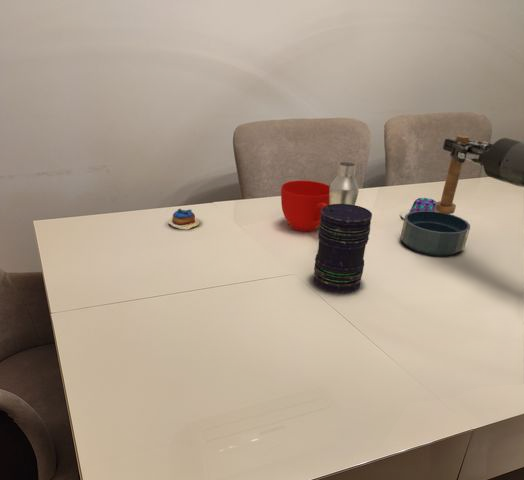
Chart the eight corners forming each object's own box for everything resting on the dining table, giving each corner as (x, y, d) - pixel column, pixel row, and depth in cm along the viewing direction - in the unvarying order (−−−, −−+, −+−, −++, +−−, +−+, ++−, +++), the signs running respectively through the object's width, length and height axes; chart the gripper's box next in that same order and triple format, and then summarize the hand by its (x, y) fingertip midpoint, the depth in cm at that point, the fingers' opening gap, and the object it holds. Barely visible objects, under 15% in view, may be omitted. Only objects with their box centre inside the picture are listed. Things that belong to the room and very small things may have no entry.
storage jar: (362, 275, 107) (374, 207, 99) (359, 296, 99) (371, 223, 91) (316, 269, 109) (323, 201, 100) (309, 289, 101) (317, 217, 92)
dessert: (183, 229, 122) (174, 206, 121) (169, 238, 127) (160, 216, 126) (207, 223, 127) (198, 201, 127) (192, 232, 132) (183, 211, 132)
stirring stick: (457, 210, 115) (476, 136, 106) (450, 215, 112) (470, 139, 103) (438, 206, 117) (456, 133, 108) (431, 210, 114) (449, 136, 105)
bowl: (471, 244, 125) (478, 221, 121) (450, 263, 114) (457, 238, 111) (414, 228, 132) (419, 206, 129) (389, 245, 122) (394, 221, 118)
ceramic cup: (300, 245, 119) (304, 203, 114) (270, 220, 132) (272, 182, 126) (346, 238, 124) (352, 198, 118) (313, 215, 137) (317, 178, 131)
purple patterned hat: (441, 214, 142) (446, 196, 139) (447, 229, 133) (452, 210, 130) (399, 210, 144) (402, 191, 141) (401, 224, 134) (405, 205, 131)
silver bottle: (344, 246, 120) (356, 160, 108) (353, 258, 114) (367, 168, 103) (318, 247, 119) (328, 160, 107) (325, 259, 113) (337, 168, 102)
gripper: (547, 140, 97) (478, 123, 109) (497, 145, 91) (430, 126, 104) (533, 179, 101) (468, 158, 114) (485, 186, 96) (422, 163, 108)
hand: (450, 143), depth 109 cm, fingers closed on stirring stick, 2 cm apart
